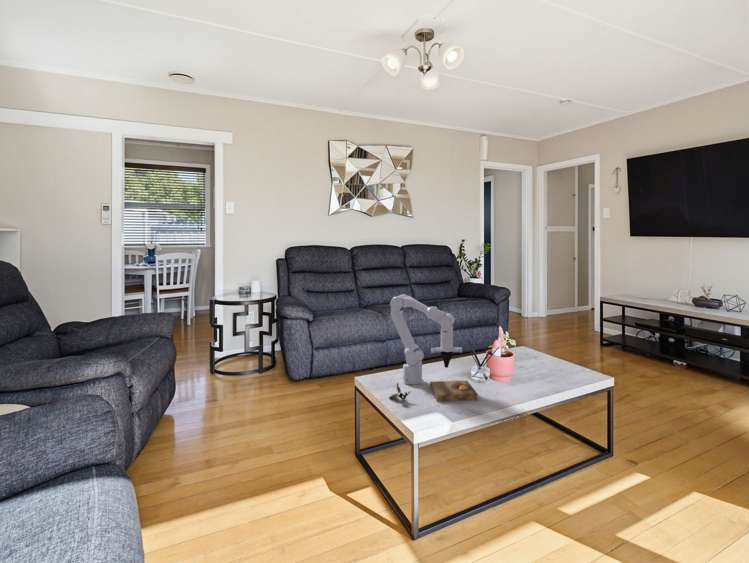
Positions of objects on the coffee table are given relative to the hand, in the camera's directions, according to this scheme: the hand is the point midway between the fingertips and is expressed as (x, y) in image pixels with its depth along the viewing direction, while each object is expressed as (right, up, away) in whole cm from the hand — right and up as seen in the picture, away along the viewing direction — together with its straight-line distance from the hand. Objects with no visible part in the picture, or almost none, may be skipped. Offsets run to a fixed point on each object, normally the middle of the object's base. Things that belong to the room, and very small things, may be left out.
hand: (446, 366), depth 193 cm
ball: (+6, -9, -8) cm, 13 cm away
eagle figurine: (-24, -12, -13) cm, 29 cm away
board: (+2, -11, -7) cm, 13 cm away
